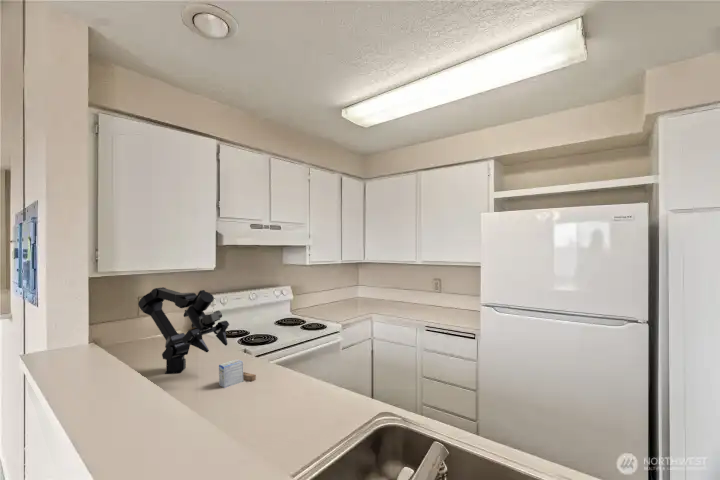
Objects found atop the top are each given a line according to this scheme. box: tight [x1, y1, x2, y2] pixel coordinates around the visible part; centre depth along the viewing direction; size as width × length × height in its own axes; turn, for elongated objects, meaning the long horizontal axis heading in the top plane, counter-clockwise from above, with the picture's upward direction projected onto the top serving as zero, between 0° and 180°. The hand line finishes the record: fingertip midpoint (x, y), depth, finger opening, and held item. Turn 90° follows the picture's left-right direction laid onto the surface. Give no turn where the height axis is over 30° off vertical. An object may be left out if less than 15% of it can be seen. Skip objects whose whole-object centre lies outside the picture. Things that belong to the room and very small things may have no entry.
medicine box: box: [218, 358, 244, 389], centre depth 130 cm, size 8×4×9 cm, turn 139°
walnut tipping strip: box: [243, 371, 257, 382], centre depth 135 cm, size 12×2×2 cm, turn 65°
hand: (217, 348), depth 133 cm, fingers open, 9 cm apart
